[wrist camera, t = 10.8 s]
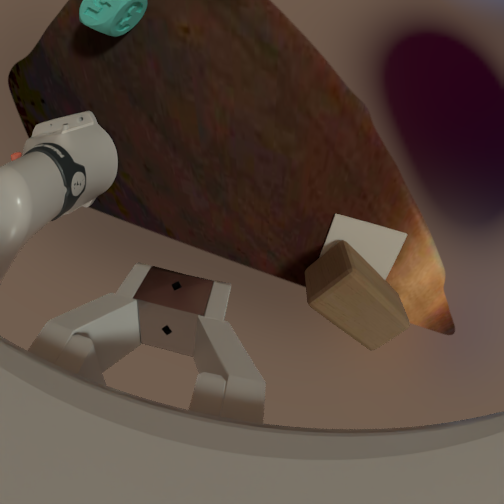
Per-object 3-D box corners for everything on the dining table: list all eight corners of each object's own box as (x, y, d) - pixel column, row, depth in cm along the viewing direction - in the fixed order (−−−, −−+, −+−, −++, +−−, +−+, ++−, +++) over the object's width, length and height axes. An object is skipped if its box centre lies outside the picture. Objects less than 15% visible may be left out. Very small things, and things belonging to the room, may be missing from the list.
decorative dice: (96, 22, 33) (70, 17, 26) (123, -14, 29) (100, -25, 22) (125, 39, 35) (100, 34, 28) (155, 2, 31) (134, -10, 25)
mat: (314, 270, 55) (314, 270, 55) (335, 213, 49) (335, 214, 48) (382, 284, 56) (382, 285, 55) (406, 233, 49) (407, 234, 49)
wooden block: (302, 269, 55) (362, 318, 61) (305, 306, 46) (371, 354, 52) (342, 235, 50) (399, 293, 56) (353, 269, 42) (413, 327, 48)
